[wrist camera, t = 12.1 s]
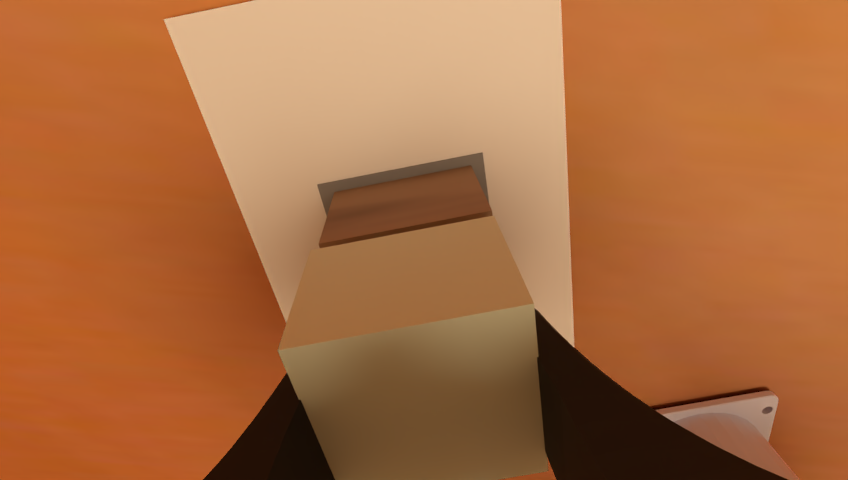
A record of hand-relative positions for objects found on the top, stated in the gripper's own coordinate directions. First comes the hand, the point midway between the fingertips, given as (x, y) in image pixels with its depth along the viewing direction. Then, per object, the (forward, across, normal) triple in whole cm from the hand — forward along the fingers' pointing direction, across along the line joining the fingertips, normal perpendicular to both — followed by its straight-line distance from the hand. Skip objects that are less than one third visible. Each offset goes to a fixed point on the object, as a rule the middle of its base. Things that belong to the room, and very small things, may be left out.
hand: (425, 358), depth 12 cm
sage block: (+2, 0, 0) cm, 2 cm away
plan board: (+7, 0, 0) cm, 7 cm away
